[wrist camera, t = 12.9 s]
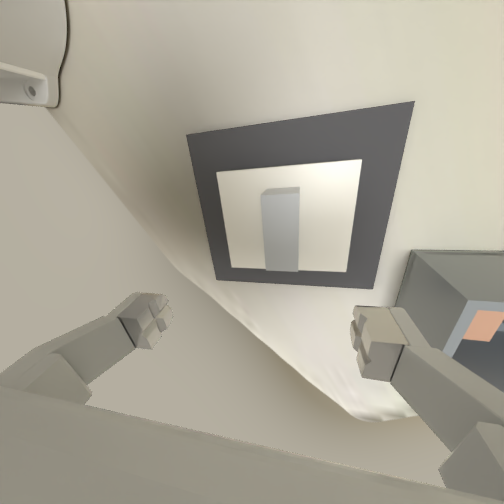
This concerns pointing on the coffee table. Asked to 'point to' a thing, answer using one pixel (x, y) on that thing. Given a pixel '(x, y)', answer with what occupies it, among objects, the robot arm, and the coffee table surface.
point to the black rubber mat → (304, 152)
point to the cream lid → (290, 215)
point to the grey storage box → (459, 306)
